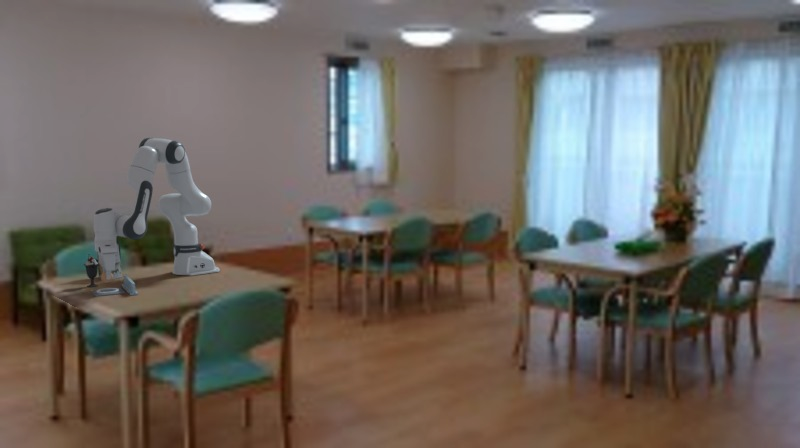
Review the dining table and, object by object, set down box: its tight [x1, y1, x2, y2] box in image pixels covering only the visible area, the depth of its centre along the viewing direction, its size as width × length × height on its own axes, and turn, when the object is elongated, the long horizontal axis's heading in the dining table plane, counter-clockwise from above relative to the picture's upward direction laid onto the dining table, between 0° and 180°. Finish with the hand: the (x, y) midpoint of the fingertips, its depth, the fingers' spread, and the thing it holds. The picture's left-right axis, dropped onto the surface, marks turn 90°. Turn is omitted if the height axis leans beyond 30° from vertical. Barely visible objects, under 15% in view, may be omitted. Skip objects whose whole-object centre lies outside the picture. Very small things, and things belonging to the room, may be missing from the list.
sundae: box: [83, 254, 99, 288], centre depth 342 cm, size 7×7×15 cm
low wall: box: [121, 274, 139, 296], centre depth 334 cm, size 3×22×5 cm, turn 29°
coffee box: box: [96, 243, 123, 280], centre depth 361 cm, size 9×6×16 cm
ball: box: [100, 272, 114, 284], centre depth 329 cm, size 5×5×5 cm
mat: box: [90, 287, 126, 297], centre depth 330 cm, size 12×12×1 cm
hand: (107, 278), depth 329 cm, fingers closed on ball, 5 cm apart
